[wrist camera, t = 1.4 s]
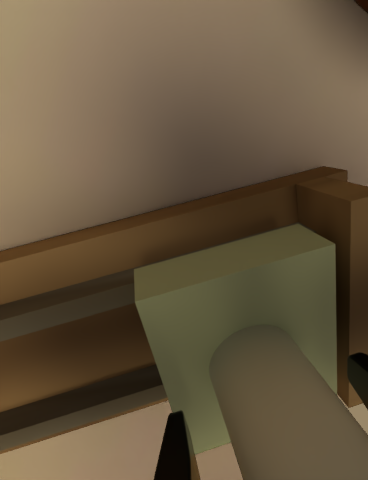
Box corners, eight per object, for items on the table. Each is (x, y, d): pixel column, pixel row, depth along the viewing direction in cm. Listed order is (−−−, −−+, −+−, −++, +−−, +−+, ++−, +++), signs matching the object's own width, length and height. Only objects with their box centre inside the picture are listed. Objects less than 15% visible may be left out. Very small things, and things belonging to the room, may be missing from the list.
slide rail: (327, 324, 16) (396, 391, 12) (-75, 450, 14) (-159, 581, 10) (324, 166, 13) (417, 183, 9) (-207, 306, 11) (-414, 412, 7)
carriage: (307, 366, 13) (547, 683, 5) (179, 408, 12) (252, 818, 5) (298, 223, 10) (743, 467, 3) (133, 269, 10) (146, 709, 2)
